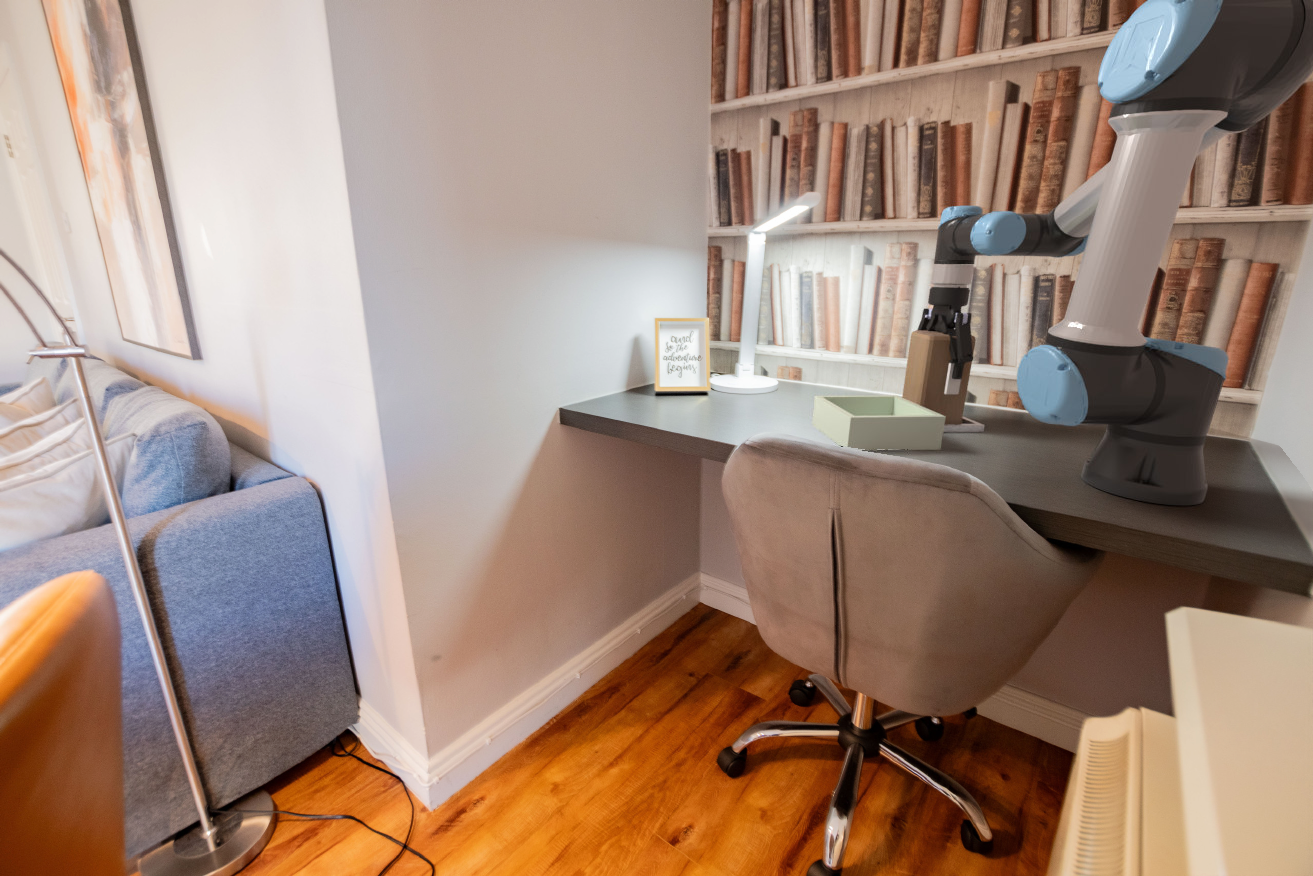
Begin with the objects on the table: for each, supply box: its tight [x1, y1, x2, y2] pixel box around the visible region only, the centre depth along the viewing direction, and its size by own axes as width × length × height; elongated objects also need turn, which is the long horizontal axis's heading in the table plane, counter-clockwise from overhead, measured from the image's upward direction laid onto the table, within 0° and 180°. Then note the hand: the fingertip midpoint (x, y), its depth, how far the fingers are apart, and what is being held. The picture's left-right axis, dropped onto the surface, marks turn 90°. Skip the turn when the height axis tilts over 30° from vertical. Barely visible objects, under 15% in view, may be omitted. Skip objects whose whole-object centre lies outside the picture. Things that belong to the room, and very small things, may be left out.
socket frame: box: [943, 416, 986, 434], centre depth 127 cm, size 15×15×2 cm
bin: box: [812, 394, 946, 452], centre depth 115 cm, size 18×18×6 cm
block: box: [902, 329, 976, 424], centre depth 125 cm, size 10×10×20 cm
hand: (934, 387), depth 125 cm, fingers open, 12 cm apart
